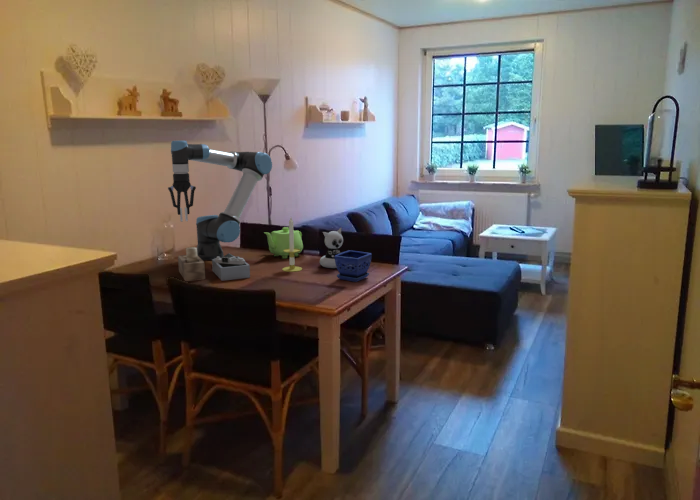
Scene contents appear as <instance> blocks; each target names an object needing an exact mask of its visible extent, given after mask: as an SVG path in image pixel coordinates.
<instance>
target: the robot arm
mask: <svg viewBox="0 0 700 500" xmlns="http://www.w3.org/2000/svg"><path fill="white" fill-rule="evenodd" d="M170 142H171V143H170V144H171V145H170V154H171V164H172V181H173V182H172V185H171V186H168V187H167V190H168V191H169V194H170V199H171V202H172V207H174V208H176V209H177V212H176V213H177V215H179V221H180V222H184V219H185V222H188V221H189V218H188V217H189V216H188V215H190V214H191V213H190V208H192V207H193V206H194V200H195V191H196V188H197V187H196V186H195V185H192V184H191V181H190V173H189V172H190V168H189V166H190V165H189V161H194V162H199V163H204V164H210V165H211V164H212V165H217V166H218V165H219V166H224V167H227V168H228V169H230V170H235V171H239V172H242V175H241V178H240V180H239V182H238V184H237V186H236V188H235V189H234V192H233V193H232V196H231V197H230V199H229V201H228V203H227V205H226V207H225V209H224V211H222V212H220V213H219V215H218V214H212V215H211V214H210V215H203V216H198V217H197V218H196V219H195V220H196V221H195V222H196V223H195V225H196V235H197V236H196V240H197V246H196V248H197V255H198V256H199V257H200V258H201V259H202V260H203V261H212V259H215V258H217V257H220V258H222V257H224V256H225V255H224V250H223V249H222V246H221V243H232V242H234V241H236V240H237V239H238V237H239V235H240V234H241V227H240V225H241V224H240V223H241V221H240V218H241V216H242V215H243V212H244V209H245V208H246V205H247V204H248V202H249V199H250V197H251V195H252V193H254V192H253V191H254V189H255V187H256V185H257V184H258V182H259V181H262V180H263V179H264V175H268V174H269V173H270V172H271V171H272V168H273V162H272V158H271V156H270V155H269V154H268V153H267V152H262V151H233V150H231V151H222V150H217V149H212V148H210V147H209V146H208V144H203V143H199V144H197V143H193V144H192V143H188V140H172V141H170ZM174 189H175V191H176V194H177V195H176V198H175V194H174ZM189 189H190V198H189V196H188V191H189ZM182 193H183V195H184V203H185V207H184V219H183V208H182V207H181V195H182Z"/></svg>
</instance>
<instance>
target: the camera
mask: <svg viewBox="0 0 700 500" xmlns="http://www.w3.org/2000/svg"><path fill="white" fill-rule="evenodd" d="M236 257H237V256H235V255H233V254H231V253H230V252H229V253H226V254H225V255H224V257H222V258H220V257H217V258H215V262H216V263H219V264H220V265H221V266H222V267H232V266H242V265H245V262H246V260H245V259H244V257H240V258H236Z"/></svg>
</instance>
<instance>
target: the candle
mask: <svg viewBox="0 0 700 500" xmlns="http://www.w3.org/2000/svg"><path fill="white" fill-rule="evenodd" d="M288 228H289V242H290V249H284V250H283V251H284V252H286V253H289V255H288V256H289V257H288V258H289V266H285V267H283V268H282V269H281V270H282V271H283V272H289V273H295V272H300V271H302V270H303V268H302V266H301V267H300V266H296V265H295V263H296V262H295V259H296V258H295V256H294V253H296V252H300V249H294V231H293V230H294V220H293V218H292V217H290V220H289V221H288ZM300 253H301V252H300Z"/></svg>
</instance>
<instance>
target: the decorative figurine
mask: <svg viewBox="0 0 700 500" xmlns="http://www.w3.org/2000/svg"><path fill="white" fill-rule="evenodd" d="M322 233H323V235H324V236H323V237H324V244H325V246H326V248H328V249H327V251H326V254H325V255H323V256H322V257H320V259H319V264H320V266H322V267H323V268H327V269H337V267H336V264H335V258H334V257H335V255H338V254H340V253H341V251H340V248H341V247H342V245H343V243H344V237H343V235H342V226H341V227H339V229H338V230H337V231H336V230H332V231H329V232H326V231H322Z"/></svg>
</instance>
